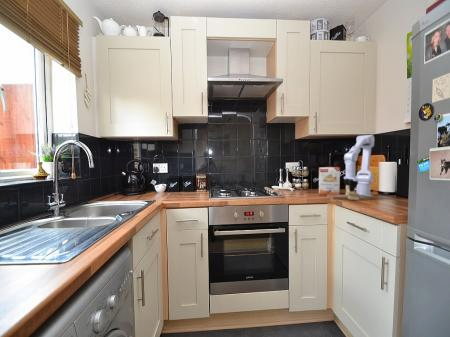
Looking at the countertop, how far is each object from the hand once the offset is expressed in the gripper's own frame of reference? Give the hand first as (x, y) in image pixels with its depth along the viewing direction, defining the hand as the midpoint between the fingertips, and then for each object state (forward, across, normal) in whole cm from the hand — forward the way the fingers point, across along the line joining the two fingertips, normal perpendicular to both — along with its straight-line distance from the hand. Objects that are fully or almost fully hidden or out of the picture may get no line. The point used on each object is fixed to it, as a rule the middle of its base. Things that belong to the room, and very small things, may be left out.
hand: (350, 190), depth 147 cm
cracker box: (+6, -22, -6) cm, 23 cm away
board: (+5, -3, 0) cm, 6 cm away
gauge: (+5, 0, 0) cm, 5 cm away
